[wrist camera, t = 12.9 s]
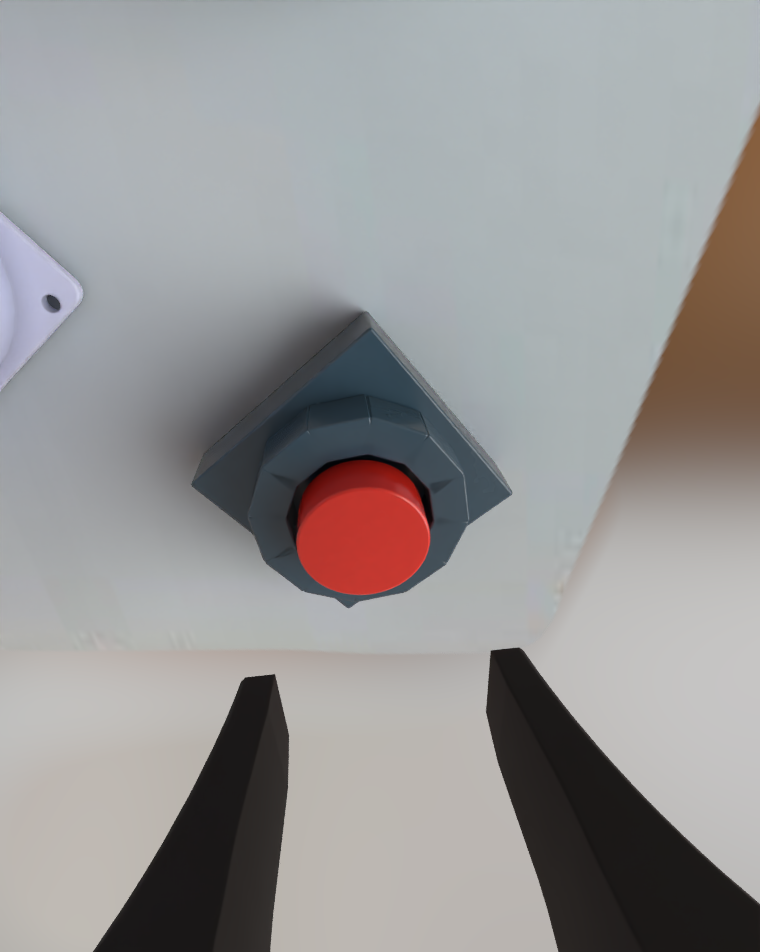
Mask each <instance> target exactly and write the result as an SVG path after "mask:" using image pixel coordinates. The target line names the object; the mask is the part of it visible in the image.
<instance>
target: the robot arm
mask: <svg viewBox="0 0 760 952" xmlns="http://www.w3.org/2000/svg"><path fill="white" fill-rule="evenodd" d="M48 295H52V296H54V297H56V298H57V299H58V301H59V302H60V306H61V307H60V310H57V309H54V308H52V307H51V306H50V305H49V303H48V300H47V297H48ZM82 299H83V289H82V287H81V284H80V283H79V282H78V281H77V280H76V279H75V278H74V277H73V276H72V275H71V274H70V273H69V272H68V271H67V270H65V269H64V268H63V267H62V266H61V265H60V264H59V263H58V262H56V261H55V260H54V259H53V258H52V257H51V256H50V255H49V254H47V253H46V252H45V251H44V250H43V249H42V248H41V247H40V246H39V245H37V244H36V243H35V242H34V241H33V240H32V239H31V238H30V237H28V236H27V235H26V234H25V233H24V232H23V231H22V230H21V229H19V228H18V227H17V226H16V225H15V224H14V223H13V222H12V221H11V220H9V219H8V218H7V217H6V216H5V215H4V214H3V213H2V212H0V391H1V390H2V389H3V387H4V386H5V385H6V384H7V383H8V382H9V381H10V380H11V379H12V378H13V376H14V375H15V374H16V373H17V372H18V371H19V370H20V369H21V368H22V367H23V366H24V364H25V363H26V362H27V361H28V360H29V359H30V358H31V357H32V356H33V355H34V353H35V352H36V351H37V350H38V349H39V348H40V347H41V346H42V345H43V344H44V342H45V341H46V340H47V339H48V338H49V337H50V336H51V335H52V334H53V333H54V331H55V330H56V329H57V328H58V327H59V326H60V325H61V324H62V323H63V322H64V320H65V319H66V318H67V317H68V316H69V315H70V314H71V313H72V312H73V311H74V310H75V308H76V307H77V306H78V305H79V304H80V303H81V301H82ZM486 713H487V718H488V722H489V726H490V731H491V735H492V740H493V744H494V748H495V752H496V756H497V760H498V763H499V766H500V770H501V773H502V776H503V778H504V781H505V784H506V787H507V790H508V793H509V796H510V799H511V802H512V805H513V808H514V810H515V813H516V816H517V819H518V822H519V825H520V828H521V830H522V834H523V836H524V839H525V842H526V845H527V848H528V851H529V854H530V857H531V859H532V863H533V865H534V868H535V871H536V874H537V877H538V880H539V883H540V886H541V890H542V893H543V896H544V899H545V902H546V906H547V909H548V913H549V917H550V921H551V925H552V929H553V932H554V936H555V940H556V944H557V948H558V952H760V904H759V903H758V902H757V901H756V900H755V899H753V898H752V897H751V896H750V895H749V894H748V893H746V892H745V891H744V890H743V889H742V888H741V887H739V886H738V885H737V884H736V883H735V882H733V881H732V880H731V879H730V878H729V877H728V876H726V875H725V874H724V873H723V872H722V871H721V870H720V869H718V868H717V867H716V866H715V865H714V864H713V863H712V862H711V861H710V860H709V859H708V858H707V857H705V856H704V855H703V854H702V853H701V852H700V851H699V850H698V849H697V848H696V847H695V846H694V845H693V844H692V843H690V842H689V841H688V840H687V839H686V838H685V837H684V836H683V835H682V834H681V833H680V832H679V831H678V830H677V829H676V828H675V827H674V826H672V825H671V823H670V822H669V821H668V820H666V818H665V817H663V815H661V814H660V813H659V812H658V811H657V810H656V808H654V807H653V805H651V803H650V802H649V801H647V799H646V798H645V797H644V796H643V795H642V794H641V793H640V792H639V791H638V790H637V789H636V788H635V787H634V786H633V785H632V784H631V782H630V781H629V780H628V779H627V778H626V777H625V776H624V775H623V774H622V773H621V772H620V771H619V770H618V768H617V767H616V766H615V765H614V764H613V763H612V762H611V761H610V760H609V758H608V757H607V756H606V755H605V754H604V753H603V752H602V750H601V749H600V748H599V747H598V746H597V745H596V744H595V742H594V741H593V740H592V739H591V738H590V736H589V735H588V734H587V733H586V732H585V731H584V729H583V728H582V727H581V726H580V725H579V723H577V721H576V720H575V719H574V717H573V716H572V715H571V714H570V712H569V711H568V710H567V709H566V707H565V706H564V705H563V704H562V702H561V701H560V700H559V698H558V697H557V696H556V695H555V693H554V692H553V691H552V689H551V688H550V687H549V685H548V684H547V683H546V682H545V680H544V679H543V677H542V676H541V675H540V674H539V672H538V671H537V669H536V668H535V667H534V665H533V664H532V662H531V661H530V659H529V658H528V657H527V655H526V654H525V652H524V651H523V650H522V649H520V648H510V649H501V650H492V651H491V655H490V668H489V681H488V695H487V707H486ZM288 758H289V734H288V729H287V724H286V721H285V716H284V712H283V707H282V703H281V699H280V695H279V690H278V686H277V681H276V677H275V674H273V675H264V676H255V677H247V678H245V679H244V680H243V681H242V682H241V683H240V686H239V689H238V691H237V694H236V697H235V699H234V702H233V704H232V706H231V709H230V711H229V714H228V716H227V718H226V721H225V723H224V725H223V727H222V729H221V732H220V734H219V736H218V738H217V740H216V743H215V745H214V747H213V749H212V751H211V753H210V755H209V757H208V759H207V761H206V763H205V765H204V767H203V769H202V771H201V773H200V775H199V777H198V779H197V781H196V783H195V785H194V787H193V790H192V791H191V793H190V795H189V797H188V798H187V801H186V802H185V804H184V806H183V807H182V809H181V811H180V813H179V815H178V816H177V818H176V820H175V822H174V824H173V826H172V827H171V829H170V831H169V833H168V835H167V836H166V838H165V840H164V842H163V843H162V845H161V847H160V849H159V850H158V852H157V853H156V856H155V857H154V859H153V860H152V862H151V864H150V865H149V867H148V869H147V870H146V872H145V873H144V875H143V877H142V878H141V880H140V881H139V883H138V885H137V886H136V888H135V889H134V891H133V892H132V894H131V896H130V897H129V899H128V900H127V902H126V903H125V905H124V907H123V908H122V910H121V911H120V913H119V914H118V916H117V917H116V919H115V920H114V921H113V923H112V924H111V926H110V927H109V929H108V930H107V932H106V933H105V935H104V936H103V938H102V939H101V941H100V942H99V944H98V945H97V947H96V948H95V950H94V951H93V952H270V944H271V932H272V921H273V920H272V919H273V910H274V902H275V893H276V885H277V876H278V868H279V859H280V851H281V842H282V834H283V825H284V816H285V808H286V799H287V790H288V760H289V759H288Z"/></svg>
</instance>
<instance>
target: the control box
mask: <svg viewBox="0 0 760 952" xmlns="http://www.w3.org/2000/svg"><path fill="white" fill-rule="evenodd" d="M352 460H374V461H379V462H383V463H386V464H388V465H391V466H393V467H395V468H397V469H398V470H400V471H401V472H403V473H404V474H405V475H406V476H407V477H409V478H410V480H411V481H412V482H413V483H414V485H415V486H416V488H417V490H418V492H419V495H420V498H421V501H422V504H423V508H424V511H425V514H426V518H427V521H428V525H429V529H430V546H429V550H428V553H427V555H426V558H425V560H424V562H423V563H422V565H421V566H420V568H419V569H418V570H417V571H416V572H415V573H414V574H413V575H412V576H411V577H410V578H409V579H407V580H406V581H405V582H403V583H402V584H400V585H398V586H396V587H394V588H392V589H389V590H386V591H384V592H380V593H375V594H369V595H351V594H344V593H340V592H336V591H334V590H331V589H328V588H327V587H325V586H323V585H321V584H320V583H318V582H317V581H315V580H314V579H313V578H312V577H311V576H310V575H309V574H308V573H307V572H306V570H305V569H304V567H303V566H302V564H301V562H300V559H299V557H298V553H297V546H296V539H297V525H298V511H299V504H300V500H301V497H302V495H303V493H304V491H305V490H306V488H307V486H308V485H309V484H310V483H311V481H312V480H313V479H314V478H316V477H317V476H318V475H319V474H320V473H322V472H323V471H325V470H326V469H328V468H330V467H332V466H334V465H337V464H339V463H343V462H347V461H352ZM191 485H192V487H194V488H195V489H196V490H198V491H199V492H200V493H201V494H203V495H204V496H205V497H206V498H208V499H209V500H210V501H212V502H213V503H214V504H215V505H217V506H218V507H219V508H221V509H222V510H223V511H224V512H226V513H227V514H228V515H229V516H231V517H232V518H233V519H235V520H236V521H237V522H238V523H240V524H241V525H242V526H243V527H245V528H246V529H247V530H249V531H250V532H251V533H252V534H254V536H255V539H256V541H257V544H258V547H259V549H260V552H261V555H262V557H263V560H264V561H265V562H266V564H268V565H269V566H270V567H272V568H273V569H274V570H276V571H277V572H278V573H279V574H281V575H282V576H283V577H285V578H286V579H287V580H289V581H290V582H291V583H293V584H294V585H295V586H297V587H298V588H299V589H300V590H302V591H305V592H307V593H312V594H317V595H322V596H327V597H332V598H335V599H337V600H338V601H339V602H340V603H342V604H343V605H344V606H346V607H347V608H350V607H352V606H353V605H355V604H356V603H357V602H359V601H363V600H369V599H374V598H379V597H384V596H389V595H394V594H399V593H404V592H406V591H408V590H410V589H411V588H412V587H414V586H415V585H417V584H418V583H420V582H421V581H423V580H424V579H426V578H427V577H429V576H430V575H431V574H433V573H434V572H436V571H437V570H439V569H440V568H442V567H443V566H445V565H446V563H447V562H448V560H449V558H450V557H451V555H452V553H453V551H454V549H455V547H456V545H457V543H458V542H459V540H460V538H461V536H462V534H463V532H464V530H465V528H466V526H468V525H469V524H470V523H472V522H473V521H475V520H476V519H478V518H479V517H480V516H482V515H483V514H485V513H486V512H488V511H489V510H490V509H492V508H493V507H495V506H496V505H498V504H499V503H500V502H502V501H503V500H505V499H506V498H508V497H509V496H510V495H512V491H511V489H510V487H509V485H508V484H507V482H506V480H505V479H504V477H503V475H502V474H501V472H500V470H499V468H498V467H497V465H496V464H495V462H494V461H493V460H492V459H491V458H490V457H489V455H488V454H487V453H486V452H485V451H484V449H483V448H482V447H481V446H480V445H479V443H478V442H477V441H476V440H475V439H474V438H473V436H472V435H471V434H470V433H469V432H468V430H467V429H466V428H465V427H464V426H463V424H462V423H461V422H460V421H459V420H458V419H457V417H456V416H455V415H454V414H453V413H452V411H451V410H450V409H449V408H448V407H447V405H446V404H445V403H444V402H443V401H442V400H441V398H440V397H439V396H438V395H437V394H436V392H435V391H434V390H433V389H432V388H431V386H430V385H429V384H428V383H427V382H426V381H425V379H424V378H423V377H422V376H421V375H420V373H419V372H418V371H417V370H416V369H415V367H414V366H413V365H412V364H411V363H410V362H409V360H408V359H407V358H406V357H405V356H404V354H403V353H402V352H401V351H400V350H399V348H398V347H397V346H396V345H395V344H394V343H393V341H392V340H391V339H390V338H389V337H388V335H387V334H386V333H385V332H384V331H383V330H382V328H381V327H380V326H379V325H378V324H377V322H376V321H375V320H374V319H373V318H372V316H371V315H370V314H369V313H368V312H364V313H362V314H361V315H360V316H359V317H358V318H357V319H356V320H355V321H353V322H352V323H351V324H350V325H349V326H348V327H347V328H346V329H344V330H343V331H342V332H341V333H340V334H339V335H338V336H337V337H335V338H334V339H333V340H332V341H331V342H330V343H329V344H327V345H326V346H325V347H324V348H323V349H322V350H321V351H320V352H318V353H317V354H316V355H315V356H314V357H313V358H312V359H311V360H309V361H308V362H307V363H306V364H305V365H304V366H303V367H302V368H300V369H299V370H298V371H297V372H296V373H295V374H294V375H293V376H291V377H290V378H289V379H288V380H287V381H286V382H285V383H284V384H282V385H281V386H280V387H279V388H278V389H277V390H276V391H275V392H273V393H272V394H271V395H270V396H269V397H268V398H267V399H265V400H264V401H263V402H262V403H261V404H260V405H259V406H258V407H256V408H255V409H254V410H253V411H252V412H251V413H250V414H249V415H247V416H246V417H245V418H244V419H243V420H242V421H241V422H240V423H238V424H237V425H236V426H235V427H234V428H233V429H232V430H231V431H229V432H228V433H227V434H226V435H225V436H224V437H223V438H222V439H220V440H219V441H218V442H217V443H216V444H215V445H214V446H213V447H211V448H210V449H209V450H208V451H207V452H206V453H205V454H204V455H203V457H202V459H201V462H200V464H199V467H198V469H197V471H196V474H195V476H194V479H193V481H192V484H191Z"/></svg>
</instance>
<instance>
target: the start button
mask: <svg viewBox="0 0 760 952" xmlns="http://www.w3.org/2000/svg"><path fill="white" fill-rule="evenodd" d="M296 546H297V553H298V557H299V559H300V562H301V564H302V566H303V567H304V569H305V570H306V572H307V573H308V574H309V575H310V576H311V577H312V578H313V579H314V580H315V581H317V582H318V583H320V584H321V585H323V586H325V587H327V588H328V589H331V590H334V591H336V592H340V593H344V594H351V595H369V594H375V593H380V592H384V591H386V590H389V589H392V588H394V587H396V586H398V585H400V584H402V583H403V582H405V581H406V580H407V579H409V578H410V577H411V576H412V575H413V574H414V573H415V572H416V571H417V570H418V569H419V568H420V566H421V565H422V563H423V562H424V560H425V558H426V555H427V553H428V550H429V546H430V529H429V525H428V521H427V518H426V514H425V511H424V508H423V504H422V501H421V498H420V495H419V492H418V490H417V488H416V486H415V485H414V483H413V482H412V481H411V480H410V478H409V477H407V476H406V475H405V474H404V473H403V472H401V471H400V470H398V469H397V468H395V467H393V466H391V465H388V464H386V463H383V462H379V461H374V460H352V461H347V462H343V463H339V464H337V465H334V466H332V467H330V468H328V469H326V470H325V471H323V472H322V473H320V474H319V475H318V476H317V477H316V478H314V479H313V480H312V481H311V483H310V484H309V485H308V486H307V488H306V490H305V491H304V493H303V495H302V497H301V500H300V504H299V511H298V525H297V539H296Z"/></svg>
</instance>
